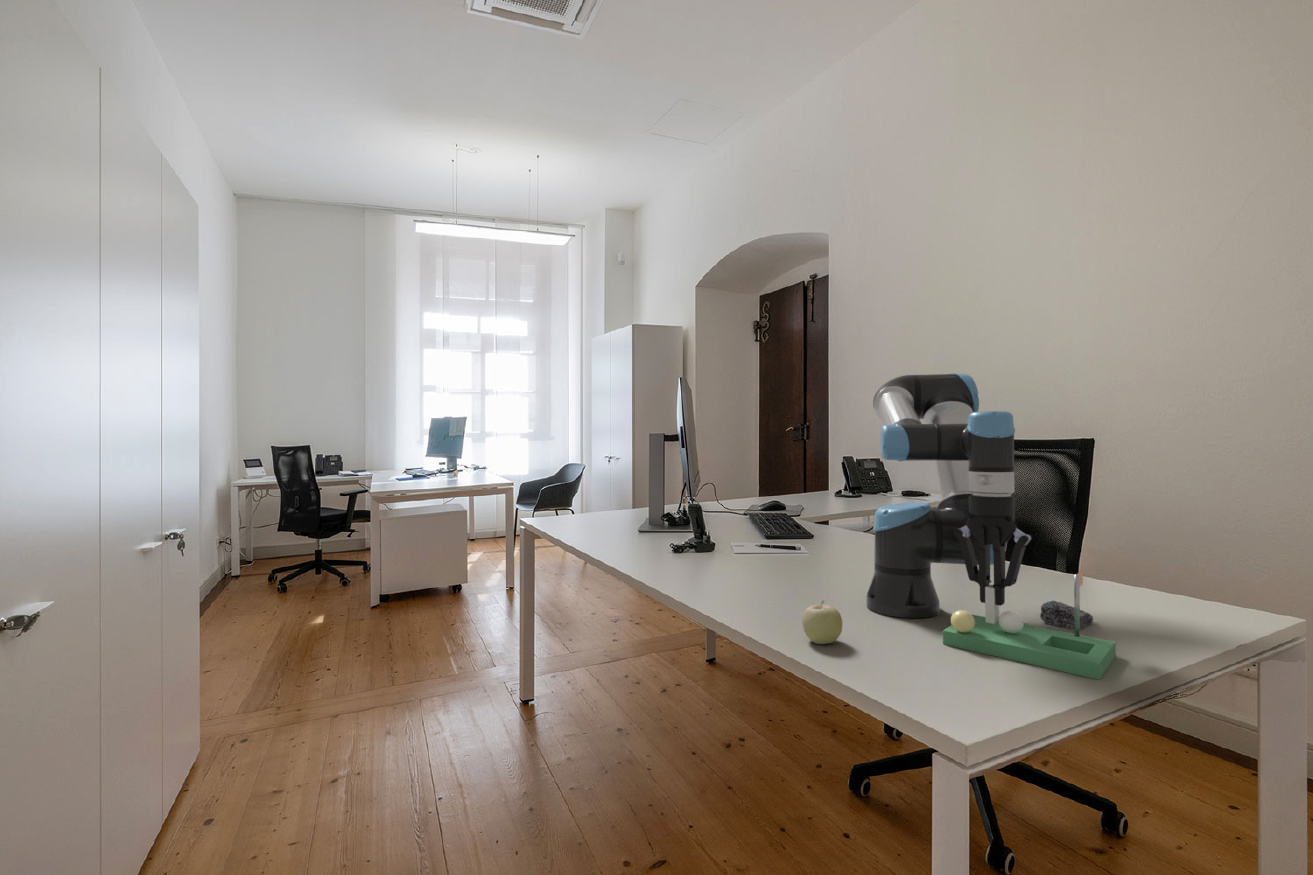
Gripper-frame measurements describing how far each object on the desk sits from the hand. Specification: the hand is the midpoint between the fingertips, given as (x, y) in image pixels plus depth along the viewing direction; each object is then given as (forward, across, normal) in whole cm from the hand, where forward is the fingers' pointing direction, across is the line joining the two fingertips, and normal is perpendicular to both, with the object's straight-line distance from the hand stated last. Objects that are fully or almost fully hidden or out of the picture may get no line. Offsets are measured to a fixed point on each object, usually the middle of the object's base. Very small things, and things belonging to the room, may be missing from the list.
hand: (992, 621), depth 115 cm
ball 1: (0, -3, -5) cm, 6 cm away
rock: (+4, +6, +24) cm, 25 cm away
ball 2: (0, +3, 0) cm, 3 cm away
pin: (+2, +12, +9) cm, 15 cm away
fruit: (+5, -23, -21) cm, 31 cm away
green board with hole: (+4, +5, +1) cm, 7 cm away
